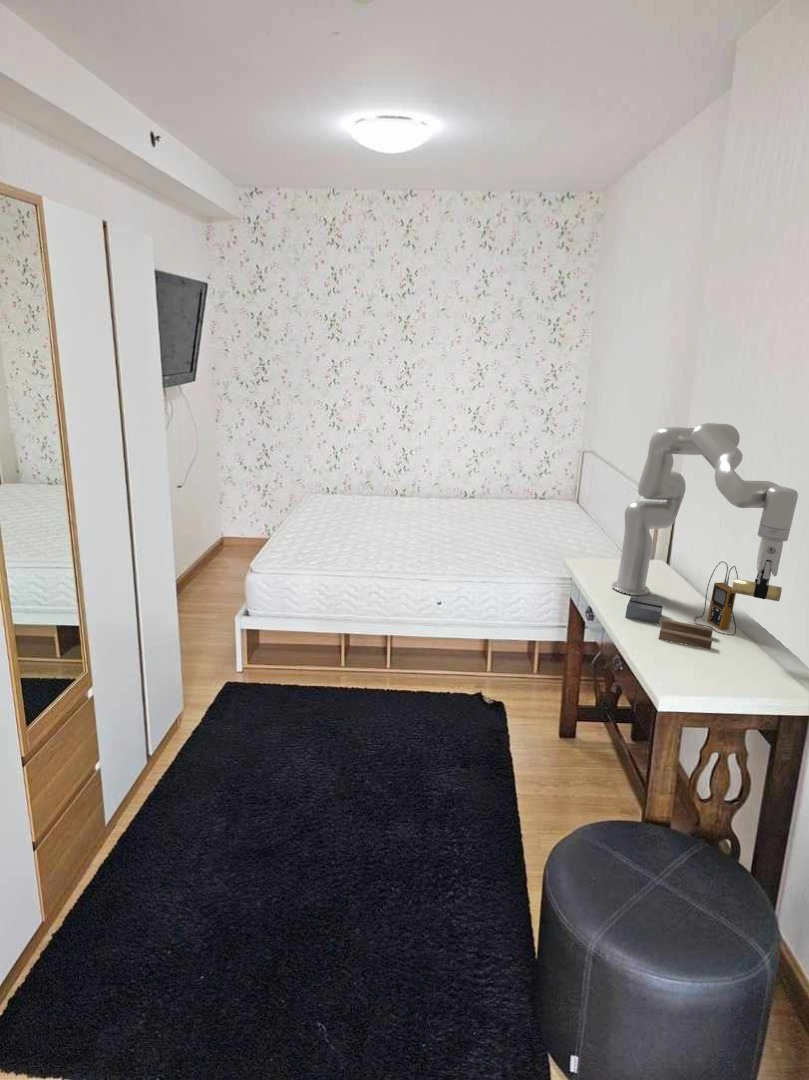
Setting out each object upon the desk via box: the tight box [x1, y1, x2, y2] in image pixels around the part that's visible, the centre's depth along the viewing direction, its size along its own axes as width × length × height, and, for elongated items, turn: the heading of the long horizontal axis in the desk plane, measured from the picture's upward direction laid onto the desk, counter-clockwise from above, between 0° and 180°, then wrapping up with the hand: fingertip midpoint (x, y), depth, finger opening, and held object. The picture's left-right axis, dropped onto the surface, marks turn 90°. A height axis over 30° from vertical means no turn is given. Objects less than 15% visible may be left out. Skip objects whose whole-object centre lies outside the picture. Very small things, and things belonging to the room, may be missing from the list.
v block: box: [625, 595, 664, 625], centre depth 227 cm, size 10×10×4 cm
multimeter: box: [688, 561, 739, 636], centre depth 220 cm, size 15×10×20 cm
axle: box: [731, 578, 783, 602], centre depth 202 cm, size 12×4×4 cm, turn 66°
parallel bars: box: [658, 618, 714, 651], centre depth 212 cm, size 12×14×2 cm
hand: (759, 594), depth 202 cm, fingers closed on axle, 4 cm apart
